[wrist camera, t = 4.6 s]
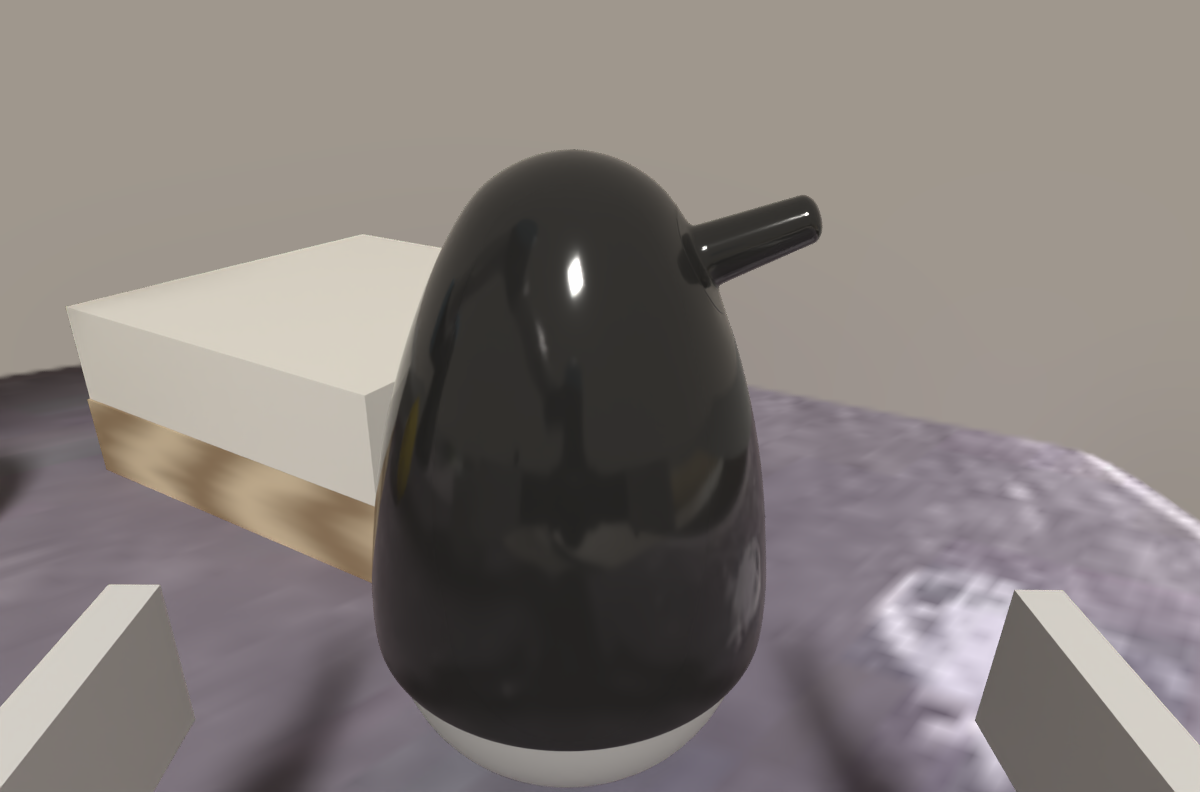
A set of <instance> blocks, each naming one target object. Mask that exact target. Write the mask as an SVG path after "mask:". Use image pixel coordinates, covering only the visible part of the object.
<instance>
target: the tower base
mask: <svg viewBox="0 0 1200 792" xmlns="http://www.w3.org/2000/svg"><path fill="white" fill-rule="evenodd" d="M87 400H88V403H89V407H90V411H91V414H92V418H93V422H94V425H95V429H96V433H97V436H98V440H99V444H100V447H101V451H102V454H103V458H104V462H105V465H106V469H107V470H109V471H111V472H114V473H116V474H118V475H121V476H123V477H125V478H128V479H130V480H132V481H135V482H137V483H139V484H142V485H144V486H146V487H149V488H151V489H153V490H156V491H158V492H160V493H163V494H165V495H167V496H170V497H172V498H175V499H177V500H179V501H182V502H184V503H186V504H189V505H191V506H193V507H196V508H198V509H200V510H203V511H205V512H207V513H210V514H212V515H214V516H217V517H219V518H221V519H224V520H226V521H228V522H231V523H233V524H235V525H238V526H240V527H242V528H245V529H247V530H249V531H252V532H254V533H256V534H259V535H261V536H263V537H266V538H268V539H270V540H273V541H275V542H277V543H280V544H282V545H284V546H287V547H289V548H291V549H294V550H296V551H298V552H301V553H303V554H305V555H308V556H310V557H312V558H315V559H317V560H319V561H322V562H324V563H326V564H329V565H331V566H333V567H336V568H338V569H340V570H343V571H345V572H348V573H350V574H352V575H355V576H357V577H359V578H362V579H364V580H366V581H369V582H371V583H372V549H373V526H374V510H375V507H374V506H372V505H369V504H367V503H364V502H361V501H359V500H356V499H353V498H351V497H348V496H345V495H343V494H340V493H338V492H335V491H332V490H330V489H327V488H324V487H322V486H319V485H316V484H314V483H311V482H309V481H306V480H303V479H301V478H298V477H295V476H293V475H290V474H287V473H285V472H282V471H280V470H277V469H274V468H272V467H269V466H266V465H264V464H261V463H258V462H256V461H253V460H250V459H248V458H245V457H243V456H240V455H237V454H235V453H232V452H229V451H227V450H224V449H221V448H219V447H216V446H214V445H211V444H208V443H206V442H203V441H200V440H198V439H195V438H192V437H190V436H187V435H185V434H182V433H179V432H177V431H174V430H171V429H169V428H166V427H163V426H161V425H158V424H156V423H153V422H150V421H148V420H145V419H142V418H140V417H137V416H134V415H132V414H129V413H127V412H124V411H121V410H119V409H116V408H113V407H111V406H108V405H105V404H103V403H100V402H97V401H95V400H92V399H87Z"/></svg>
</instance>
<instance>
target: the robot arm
mask: <svg viewBox="0 0 1200 792" xmlns="http://www.w3.org/2000/svg"><path fill="white" fill-rule="evenodd" d="M194 721H195V716H194V712H193V708H192V704H191V701H190V697H189V693H188V689H187V685H186V682H185V678H184V674H183V670H182V666H181V662H180V659H179V655H178V651H177V647H176V643H175V640H174V636H173V632H172V628H171V624H170V621H169V617H168V613H167V609H166V605H165V601H164V598H163V594H162V590H161V586H160V585H108V586H107V587H106V588H105V589H104V590H103V592H102V593H101V594H100V595H99V596H98V597H97V598H96V599H95V601H94V602H93V603H92V604H91V605H90V606H89V607H88V609H87V610H86V611H85V612H84V613H83V614H82V615H81V616H80V618H79V619H78V620H77V621H76V622H75V623H74V624H73V625H72V627H71V628H70V629H69V630H68V631H67V632H66V633H65V635H64V636H63V637H62V638H61V639H60V640H59V641H58V642H57V644H56V645H55V646H54V647H53V648H52V649H51V650H50V652H49V653H48V654H47V655H46V656H45V657H44V658H43V659H42V661H41V662H40V663H39V664H38V665H37V666H36V667H35V668H34V670H33V671H32V672H31V673H30V674H29V675H28V676H27V678H26V679H25V680H24V681H23V682H22V683H21V684H20V685H19V687H18V688H17V689H16V690H15V691H14V692H13V693H12V695H11V696H10V697H9V698H8V699H7V700H6V701H5V702H4V704H3V705H2V706H1V707H0V792H154V790H155V788H156V787H157V785H158V783H159V782H160V780H161V778H162V776H163V775H164V773H165V771H166V769H167V768H168V766H169V764H170V762H171V761H172V759H173V757H174V756H175V754H176V752H177V750H178V749H179V747H180V745H181V743H182V742H183V740H184V738H185V736H186V735H187V733H188V731H189V730H190V728H191V726H192V724H193V723H194ZM975 721H976V723H977V725H978V726H979V728H980V730H981V732H982V733H983V735H984V737H985V738H986V740H987V742H988V744H989V745H990V747H991V749H992V750H993V752H994V754H995V756H996V757H997V759H998V761H999V762H1000V764H1001V766H1002V768H1003V769H1004V771H1005V773H1006V774H1007V776H1008V778H1009V780H1010V781H1011V783H1012V785H1013V787H1014V788H1015V790H1016V792H1200V745H1199V744H1198V743H1197V742H1196V741H1195V739H1194V738H1193V737H1192V736H1191V735H1190V734H1189V733H1188V732H1187V730H1186V729H1185V728H1184V727H1183V726H1182V725H1181V724H1180V722H1179V721H1178V720H1177V719H1176V718H1175V717H1174V716H1173V715H1172V713H1171V712H1170V711H1169V710H1168V709H1167V708H1166V707H1165V705H1164V704H1163V703H1162V702H1161V701H1160V700H1159V699H1158V698H1157V696H1156V695H1155V694H1154V693H1153V692H1152V691H1151V690H1150V688H1149V687H1148V686H1147V685H1146V684H1145V683H1144V682H1143V681H1142V679H1141V678H1140V677H1139V676H1138V675H1137V674H1136V673H1135V671H1134V670H1133V669H1132V668H1131V667H1130V666H1129V665H1128V664H1127V662H1126V661H1125V660H1124V659H1123V658H1122V657H1121V656H1120V654H1119V653H1118V652H1117V651H1116V650H1115V649H1114V648H1113V647H1112V645H1111V644H1110V643H1109V642H1108V641H1107V640H1106V639H1105V638H1104V636H1103V635H1102V634H1101V633H1100V632H1099V631H1098V630H1097V628H1096V627H1095V626H1094V625H1093V624H1092V623H1091V622H1090V621H1089V619H1088V618H1087V617H1086V616H1085V615H1084V614H1083V613H1082V611H1081V610H1080V609H1079V608H1078V607H1077V606H1076V605H1075V604H1074V602H1073V601H1072V600H1071V599H1070V598H1069V597H1068V596H1067V594H1066V593H1065V592H1064V591H1063V590H1014V593H1013V597H1012V600H1011V603H1010V607H1009V610H1008V613H1007V616H1006V620H1005V623H1004V626H1003V630H1002V633H1001V636H1000V640H999V643H998V646H997V649H996V653H995V656H994V659H993V663H992V666H991V669H990V672H989V676H988V679H987V682H986V686H985V689H984V692H983V696H982V699H981V702H980V705H979V709H978V712H977V715H976V719H975Z"/></svg>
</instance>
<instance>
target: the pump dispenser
mask: <svg viewBox="0 0 1200 792" xmlns="http://www.w3.org/2000/svg"><path fill="white" fill-rule="evenodd" d="M821 233H822V219H821V215H820V211H819V209H818V206H817V204H816V203H815V202H814V200H813V199H812V198H810V197H809V196H806V195H800V196H796V197H793V198H789V199H786V200H782V201H779V202H775V203H772V204H769V205H765V206H761V207H758V208H755V209H751V210H748V211H744V212H741V213H737V214H734V215H730V216H727V217H723V218H720V219H716V220H713V221H710V222H705V223H702V224H698V225H691V224H690V223H688V221H687V220H686V219H685V217H684V216H683V214H682V213H681V211H680V209H679V208H678V206H677V205H676V204H675V202H674V201H673V200H672V199H671V197H670V196H669V195H668V194H667V192H666V191H665V190H664V189H663V188H662V187H661V186H660V185H659V184H658V183H657V182H656V181H655V180H653V179H652V178H651V177H649V176H648V175H647V174H646V173H644V172H642V171H641V170H639V169H638V168H636V167H634V166H632V165H631V164H629V163H627V162H625V161H622V160H620V159H618V158H615V157H612V156H609V155H606V154H602V153H598V152H593V151H586V150H575V149H574V150H558V151H551V152H546V153H542V154H538V155H535V156H532V157H529V158H526V159H524V160H521V161H519V162H517V163H515V164H513V165H511V166H509V167H507V168H506V169H504V170H503V171H501V172H499V173H498V174H496V175H495V176H493V177H492V178H491V179H490V180H489V181H487V182H486V183H485V184H484V185H483V186H482V187H481V188H480V189H479V190H478V191H477V192H476V193H475V194H474V196H473V197H472V198H471V199H470V201H469V202H468V203H467V205H466V206H465V208H464V210H463V211H462V212H461V214H460V216H459V217H458V219H457V221H456V222H455V224H454V226H453V228H452V230H451V231H450V233H449V235H448V237H447V239H446V241H445V243H444V245H443V247H442V249H441V251H440V253H439V255H438V257H437V259H436V262H435V264H434V266H433V268H432V271H431V273H430V276H429V278H428V281H427V283H426V286H425V288H424V291H423V294H422V297H421V299H420V302H419V305H418V308H417V311H416V314H415V317H414V319H413V322H412V325H411V328H410V332H409V335H408V338H407V341H406V344H405V348H404V351H403V354H402V358H401V361H400V365H399V369H398V372H397V376H396V380H395V384H394V388H393V392H392V396H391V400H390V405H389V409H388V414H387V419H386V424H385V429H384V435H383V440H382V446H381V453H380V460H379V467H378V476H377V486H376V497H375V510H374V526H373V549H372V598H373V611H374V620H375V627H376V633H377V638H378V643H379V646H380V650H381V653H382V655H383V658H384V660H385V662H386V664H387V666H388V668H389V670H390V671H391V673H392V675H393V676H394V678H395V679H396V680H397V682H398V683H399V684H400V686H401V687H402V688H403V689H404V690H405V691H406V692H407V693H408V694H409V695H410V696H411V697H412V698H413V700H414V702H415V704H416V705H417V707H418V708H419V710H420V711H421V713H422V714H423V715H424V717H425V718H426V720H427V721H428V722H429V724H430V725H431V726H432V727H433V728H434V729H435V730H436V731H437V732H438V734H439V735H440V736H441V737H442V738H443V739H444V740H445V741H446V742H448V743H449V744H450V745H451V746H452V747H454V748H455V749H456V750H457V751H458V752H459V753H461V754H462V755H464V756H465V757H467V758H468V759H470V760H471V761H473V762H474V763H476V764H478V765H480V766H482V767H484V768H485V769H487V770H489V771H491V772H494V773H496V774H499V775H501V776H504V777H506V778H510V779H513V780H516V781H520V782H523V783H528V784H533V785H538V786H546V787H556V788H576V787H589V786H595V785H602V784H606V783H610V782H615V781H618V780H621V779H624V778H627V777H630V776H633V775H636V774H638V773H640V772H643V771H645V770H647V769H649V768H651V767H653V766H655V765H656V764H658V763H660V762H662V761H663V760H665V759H667V758H668V757H669V756H671V755H672V754H674V753H675V752H677V751H678V750H679V749H680V748H681V747H683V746H684V745H685V744H686V743H687V742H688V741H689V740H691V739H692V738H693V737H694V736H695V735H696V734H697V733H698V732H699V730H700V729H701V728H702V727H703V726H704V725H705V724H706V723H707V722H708V720H709V719H710V718H711V716H712V715H713V713H714V712H715V711H716V709H717V708H718V706H719V705H720V703H721V702H722V700H723V698H724V697H725V696H726V695H727V694H728V693H729V692H730V690H731V689H732V688H733V687H734V686H735V685H736V684H737V682H738V681H739V680H740V678H741V677H742V676H743V674H744V673H745V671H746V670H747V668H748V666H749V664H750V662H751V660H752V658H753V656H754V653H755V651H756V648H757V644H758V641H759V637H760V632H761V626H762V620H763V613H764V604H765V591H766V535H765V508H764V492H763V480H762V470H761V461H760V453H759V446H758V439H757V433H756V427H755V421H754V416H753V411H752V405H751V401H750V396H749V391H748V387H747V383H746V378H745V374H744V370H743V366H742V363H741V359H740V355H739V352H738V348H737V345H736V341H735V338H734V335H733V332H732V329H731V326H730V323H729V320H728V317H727V314H726V312H725V308H724V305H723V302H722V299H721V295H720V292H719V286H720V285H721V284H723V283H725V282H727V281H729V280H731V279H733V278H736V277H738V276H740V275H742V274H745V273H747V272H749V271H751V270H754V269H756V268H758V267H761V266H763V265H765V264H768V263H770V262H772V261H774V260H776V259H778V258H781V257H783V256H786V255H788V254H790V253H792V252H794V251H796V250H799V249H801V248H804V247H806V246H809V245H811V244H813V243H815V242H816V241H817V240H818V239H819V237H820V236H821Z"/></svg>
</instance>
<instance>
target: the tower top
mask: <svg viewBox="0 0 1200 792" xmlns="http://www.w3.org/2000/svg"><path fill="white" fill-rule="evenodd" d="M441 249H442V248H439V247H432V246H427V245H422V244H416V243H410V242H404V241H398V240H393V239H387V238H381V237H376V236H370V235H364V234H361V235H357V236H353V237H349V238H345V239H341V240H337V241H332V242H328V243H324V244H320V245H317V246H312V247H308V248H304V249H300V250H296V251H292V252H288V253H284V254H280V255H275V256H271V257H267V258H263V259H259V260H255V261H251V262H246V263H242V264H238V265H235V266H230V267H226V268H222V269H218V270H214V271H210V272H206V273H201V274H198V275H193V276H189V277H185V278H181V279H177V280H173V281H168V282H164V283H160V284H156V285H152V286H148V287H144V288H140V289H136V290H132V291H127V292H123V293H119V294H115V295H111V296H107V297H104V298H99V299H95V300H91V301H86V302H82V303H78V304H74V305H70V306H66V307H65V308H66V311H67V315H68V319H69V322H70V326H71V330H72V334H73V337H74V341H75V345H76V348H77V352H78V355H79V359H80V363H81V367H82V370H83V374H84V378H85V381H86V385H87V389H88V393H89V396H90V399H92V400H95V401H97V402H100V403H103V404H105V405H108V406H111V407H113V408H116V409H119V410H121V411H124V412H127V413H129V414H132V415H134V416H137V417H140V418H142V419H145V420H148V421H150V422H153V423H156V424H158V425H161V426H163V427H166V428H169V429H171V430H174V431H177V432H179V433H182V434H185V435H187V436H190V437H192V438H195V439H198V440H200V441H203V442H206V443H208V444H211V445H214V446H216V447H219V448H221V449H224V450H227V451H229V452H232V453H235V454H237V455H240V456H243V457H245V458H248V459H250V460H253V461H256V462H258V463H261V464H264V465H266V466H269V467H272V468H274V469H277V470H280V471H282V472H285V473H287V474H290V475H293V476H295V477H298V478H301V479H303V480H306V481H309V482H311V483H314V484H316V485H319V486H322V487H324V488H327V489H330V490H332V491H335V492H338V493H340V494H343V495H345V496H348V497H351V498H353V499H356V500H359V501H361V502H364V503H367V504H369V505H372V506H374V507H375V497H376V486H377V476H378V467H379V460H380V453H381V446H382V440H383V435H384V429H385V424H386V419H387V414H388V409H389V405H390V400H391V396H392V392H393V388H394V384H395V380H396V376H397V372H398V369H399V365H400V361H401V358H402V354H403V351H404V348H405V344H406V341H407V338H408V335H409V332H410V328H411V325H412V322H413V319H414V317H415V314H416V311H417V308H418V305H419V302H420V299H421V297H422V294H423V291H424V288H425V286H426V283H427V281H428V278H429V276H430V273H431V271H432V268H433V266H434V264H435V262H436V259H437V257H438V255H439V253H440V251H441Z"/></svg>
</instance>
